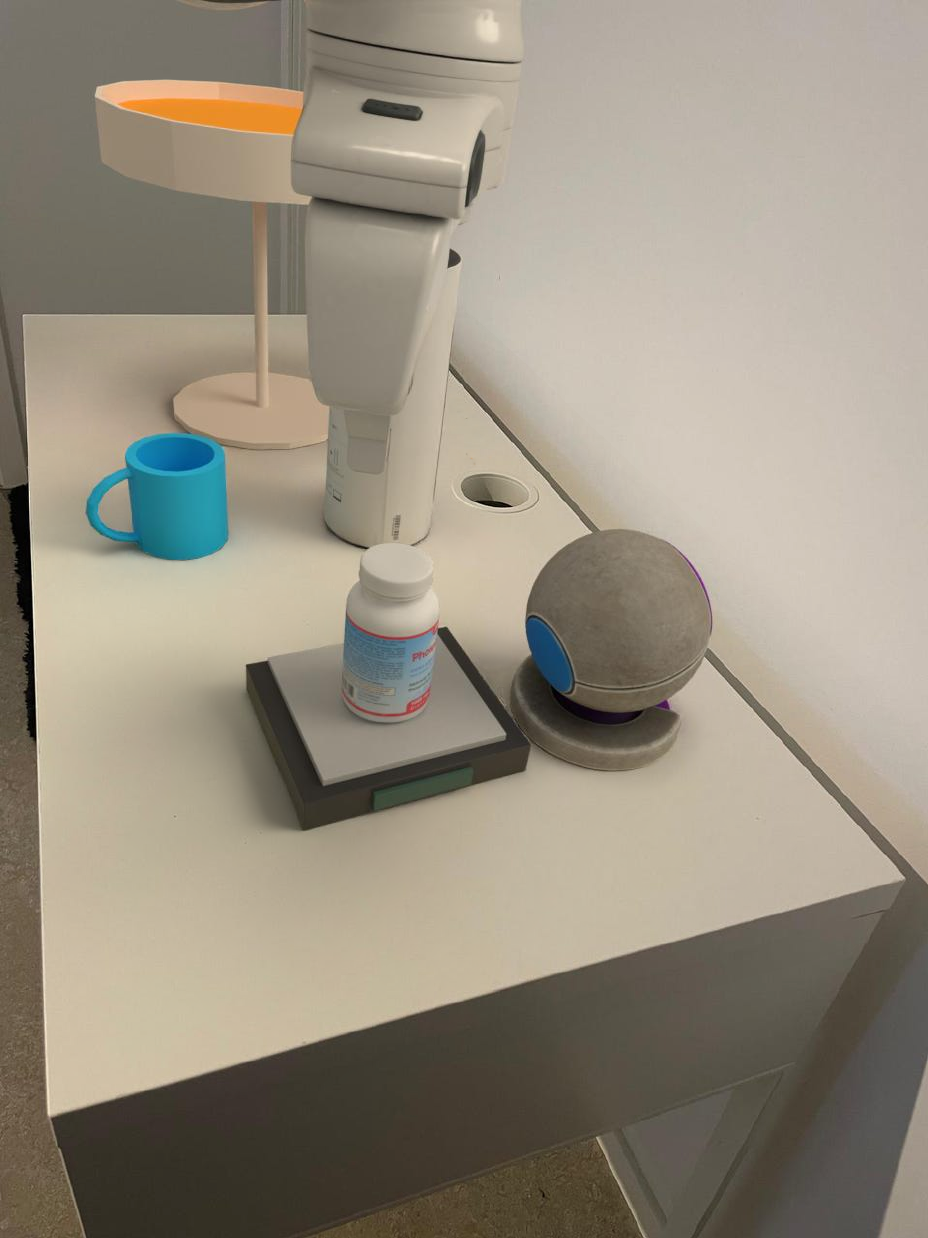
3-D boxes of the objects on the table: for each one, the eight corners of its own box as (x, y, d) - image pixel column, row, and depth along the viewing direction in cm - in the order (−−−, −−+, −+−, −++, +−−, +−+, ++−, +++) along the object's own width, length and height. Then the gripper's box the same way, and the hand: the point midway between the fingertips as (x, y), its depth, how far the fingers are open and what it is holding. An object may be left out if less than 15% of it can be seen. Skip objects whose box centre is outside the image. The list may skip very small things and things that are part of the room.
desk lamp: (105, 371, 109) (69, 70, 90) (337, 356, 121) (347, 90, 103) (159, 486, 88) (127, 128, 70) (431, 454, 101) (464, 144, 83)
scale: (305, 835, 56) (306, 801, 54) (246, 690, 66) (245, 657, 64) (528, 774, 63) (535, 742, 61) (443, 650, 73) (447, 620, 71)
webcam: (710, 742, 68) (774, 576, 59) (572, 793, 62) (620, 617, 53) (607, 642, 76) (649, 485, 67) (477, 678, 70) (505, 511, 62)
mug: (208, 505, 86) (203, 427, 82) (242, 548, 81) (240, 466, 76) (78, 531, 80) (65, 448, 75) (106, 578, 75) (94, 492, 70)
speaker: (442, 551, 85) (477, 265, 70) (331, 554, 82) (343, 258, 67) (418, 495, 93) (445, 229, 78) (317, 497, 90) (324, 221, 75)
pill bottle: (426, 731, 60) (444, 594, 54) (335, 722, 60) (342, 583, 54) (430, 673, 65) (447, 541, 59) (346, 665, 65) (354, 531, 58)
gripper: (373, 88, 47) (356, 349, 55) (278, 148, 30) (273, 510, 38) (493, 108, 47) (458, 365, 55) (464, 178, 30) (421, 533, 38)
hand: (382, 426), depth 46 cm, fingers open, 8 cm apart
